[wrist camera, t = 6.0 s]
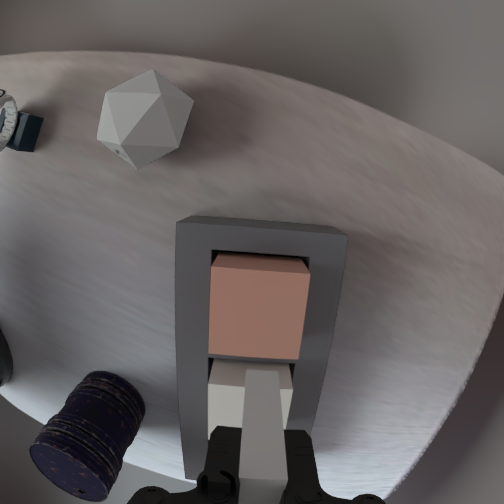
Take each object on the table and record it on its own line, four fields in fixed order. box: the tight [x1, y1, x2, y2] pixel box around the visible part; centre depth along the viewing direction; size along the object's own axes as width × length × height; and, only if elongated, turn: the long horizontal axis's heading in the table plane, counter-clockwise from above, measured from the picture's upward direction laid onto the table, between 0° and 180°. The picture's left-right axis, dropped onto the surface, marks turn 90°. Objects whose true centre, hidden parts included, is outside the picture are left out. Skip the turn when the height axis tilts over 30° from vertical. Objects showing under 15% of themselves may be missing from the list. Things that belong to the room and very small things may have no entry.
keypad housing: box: [175, 216, 348, 480], centre depth 31 cm, size 14×32×6 cm, turn 176°
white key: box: [208, 358, 293, 440], centre depth 27 cm, size 7×7×5 cm
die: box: [97, 69, 194, 170], centre depth 25 cm, size 8×9×10 cm
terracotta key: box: [208, 252, 310, 360], centre depth 25 cm, size 7×7×5 cm
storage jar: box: [29, 371, 145, 502], centre depth 29 cm, size 10×10×15 cm
